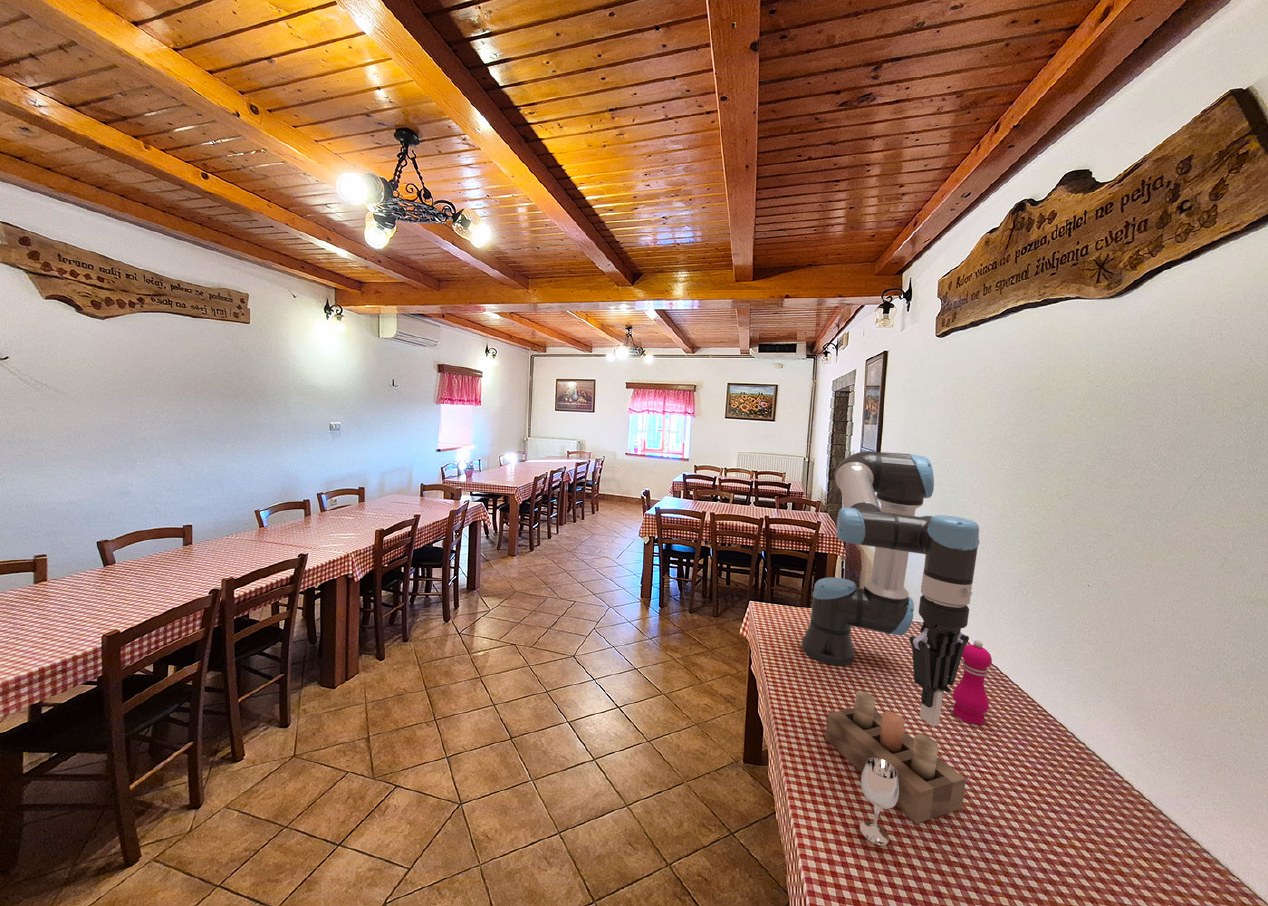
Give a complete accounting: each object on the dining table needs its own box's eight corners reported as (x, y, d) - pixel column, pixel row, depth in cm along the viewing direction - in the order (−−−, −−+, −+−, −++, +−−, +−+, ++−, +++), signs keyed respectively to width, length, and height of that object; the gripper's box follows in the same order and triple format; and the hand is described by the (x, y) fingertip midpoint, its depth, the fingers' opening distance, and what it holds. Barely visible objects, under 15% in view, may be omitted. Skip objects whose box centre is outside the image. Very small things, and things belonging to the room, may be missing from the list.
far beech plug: (849, 718, 99) (851, 692, 99) (861, 715, 100) (864, 690, 100) (863, 730, 96) (866, 703, 95) (876, 727, 97) (879, 700, 96)
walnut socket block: (824, 738, 100) (827, 713, 100) (865, 729, 104) (868, 705, 104) (916, 824, 79) (920, 792, 79) (961, 808, 84) (965, 778, 83)
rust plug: (875, 740, 93) (878, 713, 92) (889, 737, 94) (892, 710, 93) (891, 753, 89) (895, 725, 89) (905, 750, 90) (908, 722, 90)
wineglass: (848, 818, 80) (856, 755, 79) (879, 818, 80) (886, 755, 79) (868, 849, 74) (876, 781, 73) (900, 849, 74) (909, 781, 74)
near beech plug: (906, 765, 86) (909, 736, 86) (920, 762, 87) (923, 733, 87) (924, 781, 82) (928, 750, 82) (939, 777, 84) (943, 746, 83)
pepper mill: (993, 729, 108) (1004, 650, 106) (959, 723, 109) (970, 645, 108) (976, 710, 115) (986, 636, 113) (945, 705, 116) (955, 631, 115)
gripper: (939, 611, 77) (923, 740, 78) (989, 605, 81) (973, 728, 83) (900, 594, 84) (886, 713, 85) (948, 590, 88) (934, 703, 90)
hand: (929, 720), depth 84 cm, fingers closed
